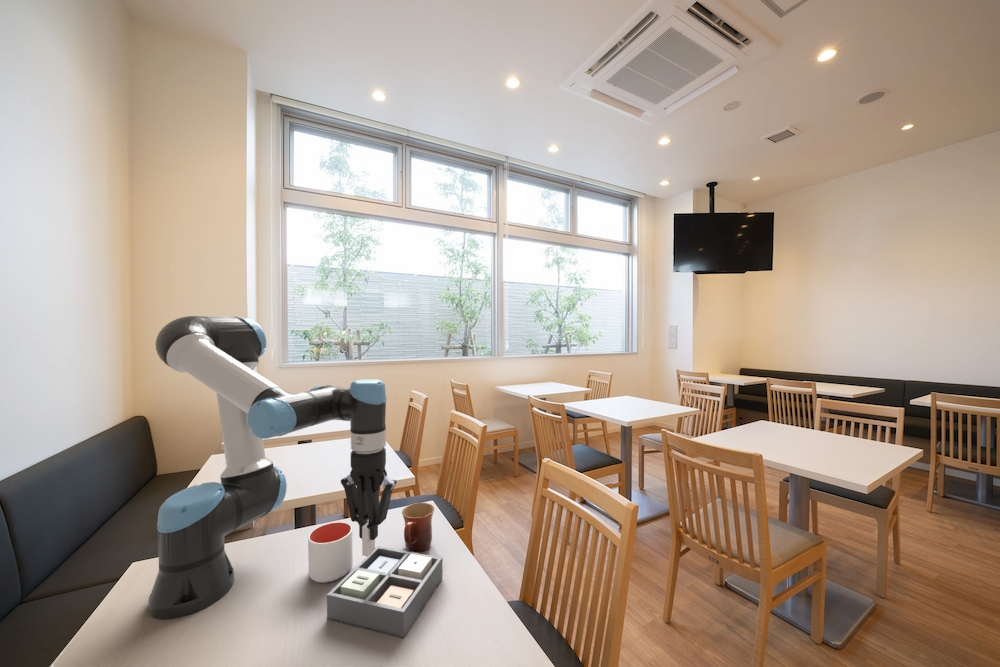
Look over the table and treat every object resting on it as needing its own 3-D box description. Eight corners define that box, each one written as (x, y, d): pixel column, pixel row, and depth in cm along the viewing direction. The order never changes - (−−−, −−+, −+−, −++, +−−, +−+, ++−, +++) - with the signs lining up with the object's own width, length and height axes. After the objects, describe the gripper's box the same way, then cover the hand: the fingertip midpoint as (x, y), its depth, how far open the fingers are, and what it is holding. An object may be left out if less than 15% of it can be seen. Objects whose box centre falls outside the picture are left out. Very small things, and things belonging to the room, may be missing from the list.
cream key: (398, 582, 85) (398, 567, 85) (410, 567, 90) (410, 553, 90) (420, 587, 84) (420, 571, 83) (431, 571, 89) (431, 557, 89)
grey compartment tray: (327, 619, 78) (326, 594, 78) (377, 566, 95) (377, 545, 95) (403, 638, 73) (403, 612, 73) (442, 578, 90) (442, 557, 90)
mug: (410, 536, 109) (410, 501, 109) (439, 539, 107) (438, 504, 107) (390, 561, 97) (390, 522, 97) (422, 565, 95) (421, 525, 95)
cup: (352, 579, 90) (352, 538, 90) (306, 590, 87) (305, 547, 86) (352, 555, 100) (352, 518, 99) (310, 564, 96) (310, 526, 96)
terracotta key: (376, 619, 77) (376, 602, 77) (391, 600, 82) (391, 584, 82) (400, 625, 75) (400, 608, 75) (413, 605, 81) (413, 589, 81)
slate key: (366, 584, 87) (365, 569, 87) (379, 569, 93) (379, 555, 93) (386, 588, 86) (386, 573, 86) (399, 573, 91) (399, 559, 91)
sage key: (340, 602, 79) (340, 585, 79) (357, 584, 85) (357, 569, 84) (363, 607, 78) (363, 590, 78) (379, 589, 83) (379, 573, 83)
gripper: (332, 451, 82) (332, 558, 82) (385, 456, 79) (385, 567, 79) (353, 441, 89) (353, 539, 89) (402, 445, 86) (402, 546, 86)
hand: (368, 552), depth 84 cm, fingers closed
